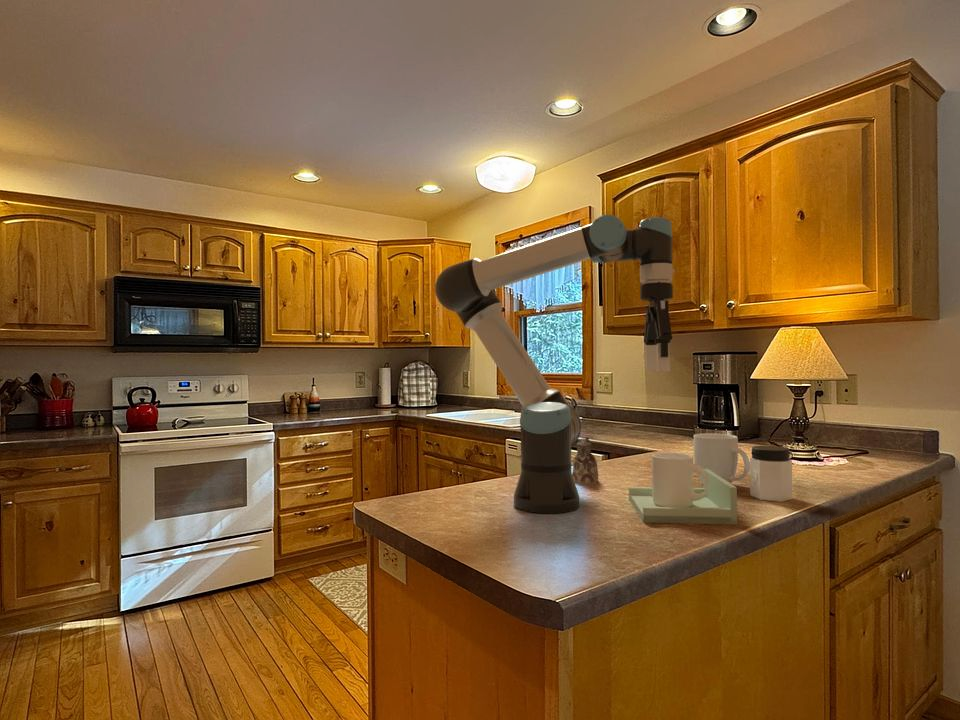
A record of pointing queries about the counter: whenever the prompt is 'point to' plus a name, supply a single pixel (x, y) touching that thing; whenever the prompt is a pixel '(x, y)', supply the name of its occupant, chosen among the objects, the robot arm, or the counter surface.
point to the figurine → (585, 464)
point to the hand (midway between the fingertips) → (657, 371)
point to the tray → (708, 510)
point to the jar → (771, 473)
